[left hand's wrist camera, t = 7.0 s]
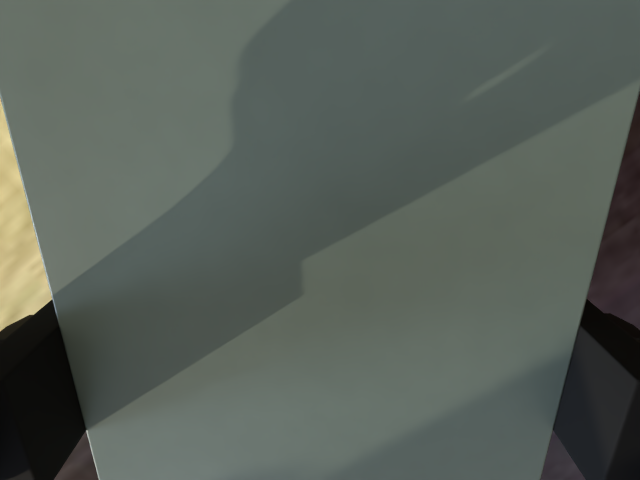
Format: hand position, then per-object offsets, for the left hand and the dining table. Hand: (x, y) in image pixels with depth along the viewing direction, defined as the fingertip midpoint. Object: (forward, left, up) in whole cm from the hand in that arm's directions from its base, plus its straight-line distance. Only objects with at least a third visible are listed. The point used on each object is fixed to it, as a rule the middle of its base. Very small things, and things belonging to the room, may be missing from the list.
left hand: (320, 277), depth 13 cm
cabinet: (+4, +1, -4) cm, 6 cm away
